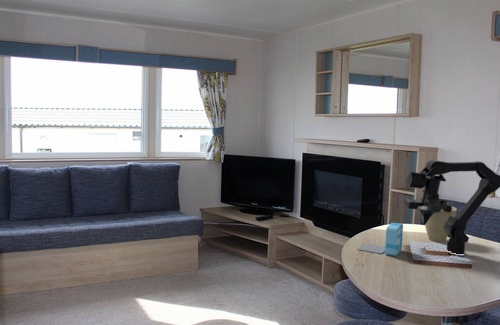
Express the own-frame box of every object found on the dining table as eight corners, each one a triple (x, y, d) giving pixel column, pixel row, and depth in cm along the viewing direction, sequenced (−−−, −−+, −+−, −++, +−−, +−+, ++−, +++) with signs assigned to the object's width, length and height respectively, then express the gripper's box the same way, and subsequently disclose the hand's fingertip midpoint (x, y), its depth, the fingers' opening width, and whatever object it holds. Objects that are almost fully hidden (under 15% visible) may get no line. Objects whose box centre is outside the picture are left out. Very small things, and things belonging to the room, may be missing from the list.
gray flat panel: (388, 248, 208) (388, 247, 208) (381, 254, 199) (381, 253, 199) (365, 244, 214) (365, 243, 214) (357, 249, 204) (357, 249, 204)
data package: (395, 257, 196) (397, 228, 194) (384, 255, 198) (386, 227, 196) (401, 250, 206) (403, 223, 205) (391, 248, 208) (392, 221, 207)
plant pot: (425, 243, 218) (427, 209, 216) (417, 235, 232) (419, 203, 231) (458, 245, 216) (461, 211, 214) (449, 237, 231) (451, 204, 229)
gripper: (417, 193, 191) (409, 229, 195) (461, 197, 192) (453, 233, 196) (407, 185, 202) (400, 219, 206) (449, 189, 203) (442, 223, 207)
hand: (424, 224), depth 203 cm, fingers closed
